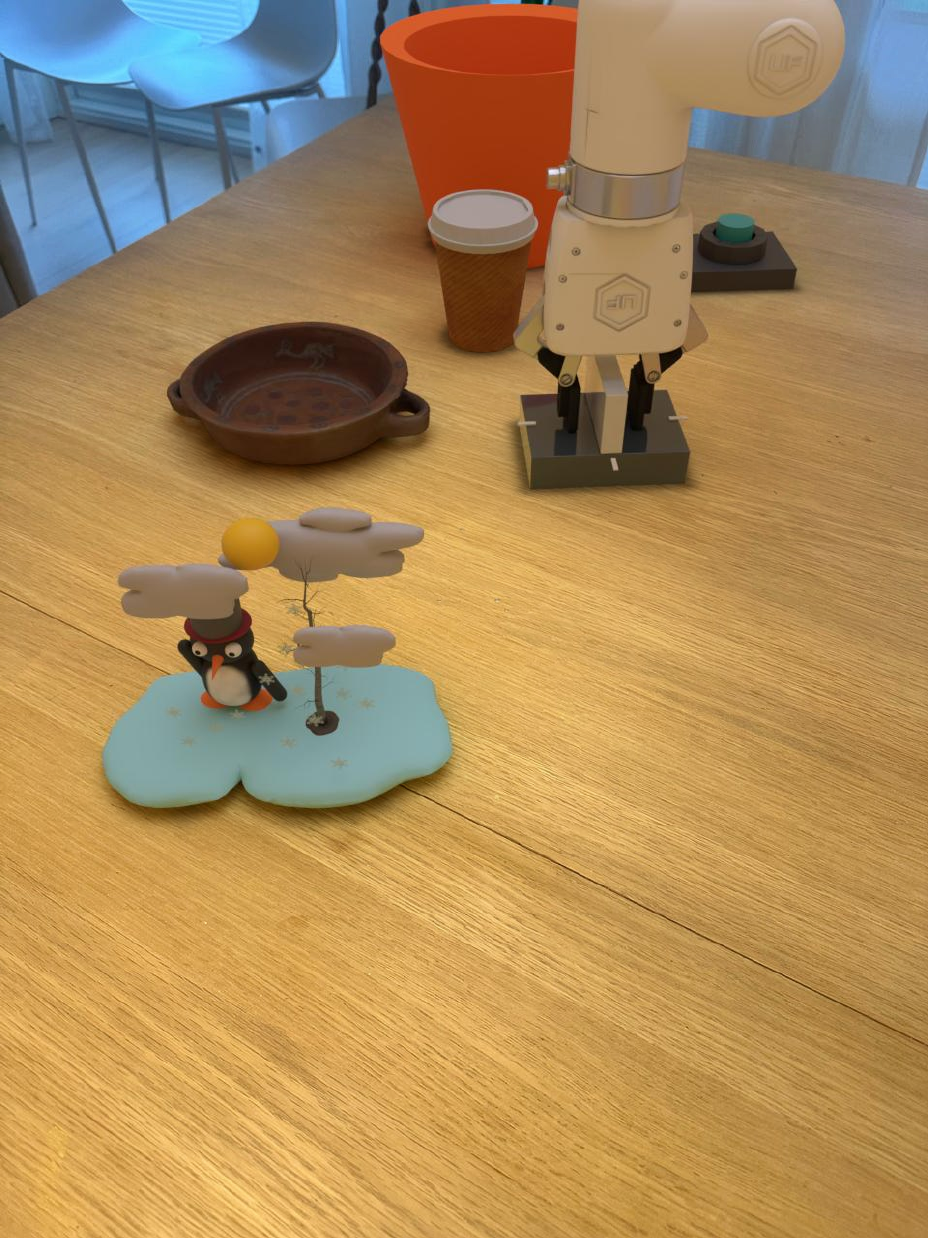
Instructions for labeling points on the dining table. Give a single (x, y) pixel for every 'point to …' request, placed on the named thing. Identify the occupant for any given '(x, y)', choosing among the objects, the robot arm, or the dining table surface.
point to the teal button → (735, 227)
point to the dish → (300, 392)
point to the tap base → (577, 454)
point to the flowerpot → (486, 101)
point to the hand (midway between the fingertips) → (602, 419)
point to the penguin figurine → (276, 680)
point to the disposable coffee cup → (482, 264)
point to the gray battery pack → (606, 401)
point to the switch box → (740, 263)
